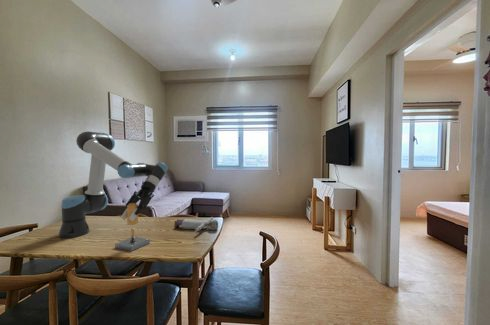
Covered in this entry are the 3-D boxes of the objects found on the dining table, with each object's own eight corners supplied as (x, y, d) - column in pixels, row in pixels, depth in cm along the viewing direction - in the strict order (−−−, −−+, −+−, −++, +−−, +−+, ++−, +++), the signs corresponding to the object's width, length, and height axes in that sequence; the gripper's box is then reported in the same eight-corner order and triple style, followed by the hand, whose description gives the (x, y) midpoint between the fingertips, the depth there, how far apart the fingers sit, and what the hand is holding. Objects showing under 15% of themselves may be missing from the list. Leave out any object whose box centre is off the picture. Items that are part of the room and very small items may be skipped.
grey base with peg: (115, 247, 119) (114, 230, 118) (134, 239, 130) (133, 224, 129) (131, 251, 114) (131, 233, 114) (149, 242, 125) (149, 226, 125)
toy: (164, 235, 138) (209, 238, 132) (164, 224, 138) (209, 227, 132) (186, 221, 167) (224, 223, 161) (186, 212, 167) (224, 214, 161)
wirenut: (125, 224, 120) (124, 204, 120) (133, 221, 125) (133, 202, 125) (132, 225, 118) (131, 205, 118) (140, 222, 123) (139, 203, 123)
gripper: (165, 189, 132) (143, 224, 117) (142, 187, 139) (119, 221, 124) (158, 181, 127) (135, 217, 112) (135, 179, 134) (109, 213, 119)
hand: (126, 219), depth 118 cm, fingers closed on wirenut, 5 cm apart
